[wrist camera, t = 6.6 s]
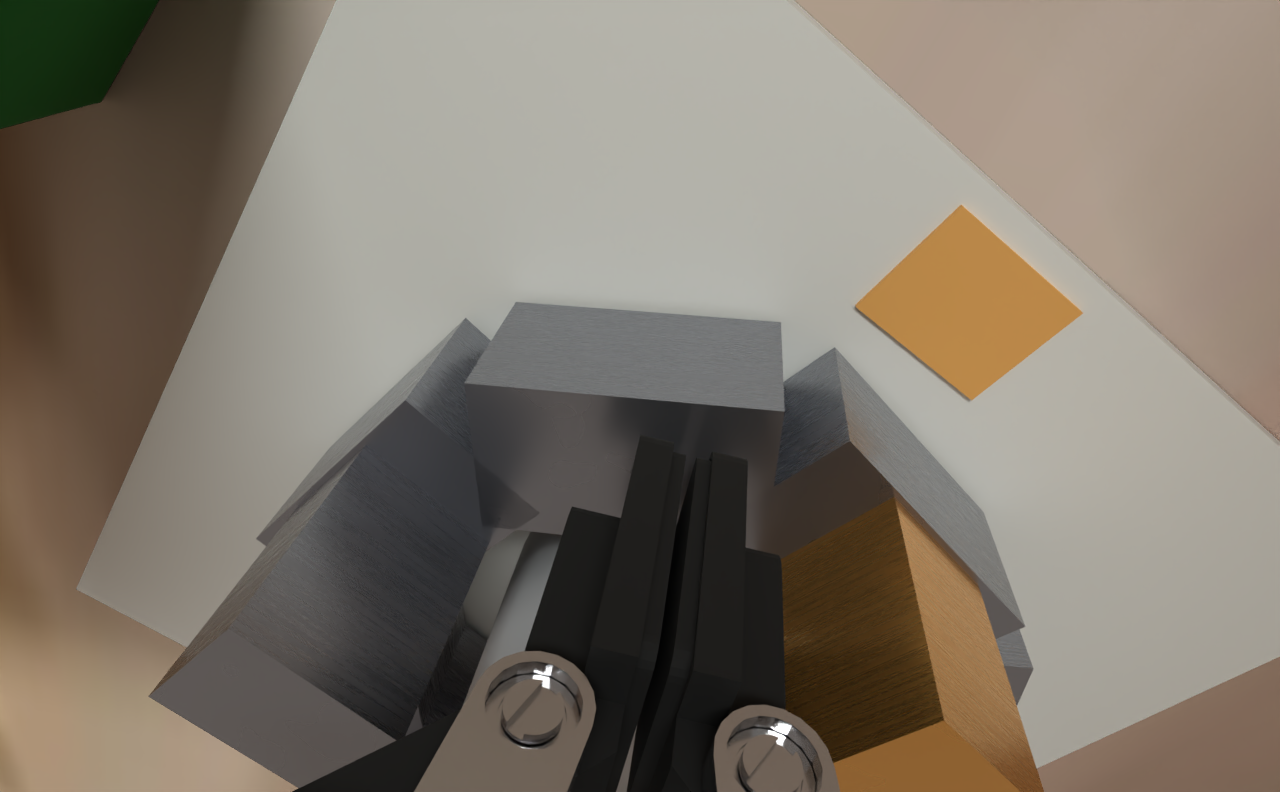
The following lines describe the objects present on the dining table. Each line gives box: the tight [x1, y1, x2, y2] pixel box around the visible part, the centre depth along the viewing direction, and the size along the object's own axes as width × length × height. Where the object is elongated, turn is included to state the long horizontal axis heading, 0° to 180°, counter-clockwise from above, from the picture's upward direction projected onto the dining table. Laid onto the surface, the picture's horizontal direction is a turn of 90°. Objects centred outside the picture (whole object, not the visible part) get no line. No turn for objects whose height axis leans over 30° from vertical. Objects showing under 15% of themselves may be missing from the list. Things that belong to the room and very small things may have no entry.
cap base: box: [76, 0, 1280, 792], centre depth 17 cm, size 23×23×6 cm
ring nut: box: [148, 302, 1044, 792], centre depth 15 cm, size 15×15×7 cm
